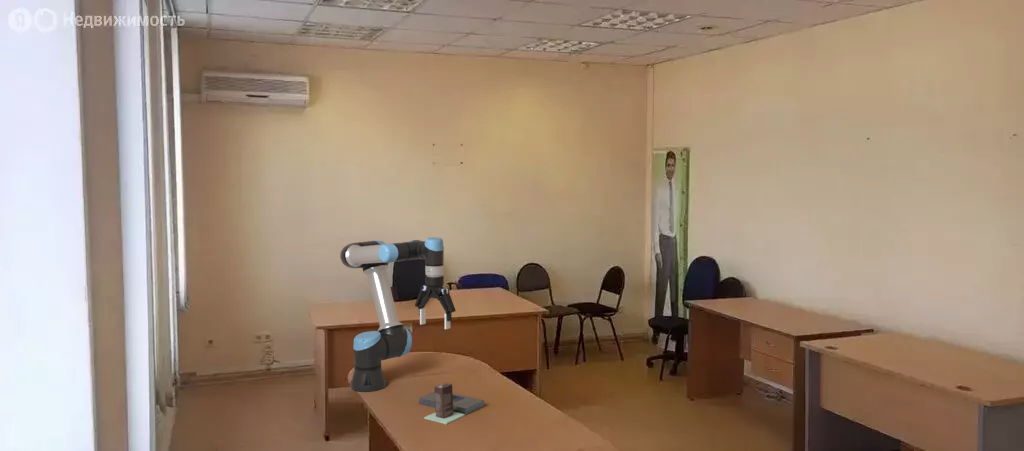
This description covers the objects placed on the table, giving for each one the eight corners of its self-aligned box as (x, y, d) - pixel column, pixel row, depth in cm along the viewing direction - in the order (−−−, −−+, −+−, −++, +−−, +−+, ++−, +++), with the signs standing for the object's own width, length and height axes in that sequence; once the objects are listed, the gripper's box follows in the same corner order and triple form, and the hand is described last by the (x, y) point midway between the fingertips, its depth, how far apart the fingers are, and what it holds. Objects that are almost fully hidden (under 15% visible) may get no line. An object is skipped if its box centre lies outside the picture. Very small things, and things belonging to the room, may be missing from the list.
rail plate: (419, 403, 302) (418, 397, 302) (438, 395, 312) (438, 389, 312) (465, 414, 289) (465, 408, 288) (484, 406, 299) (484, 400, 298)
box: (445, 412, 290) (444, 382, 289) (453, 414, 287) (453, 384, 286) (434, 416, 285) (433, 385, 284) (443, 419, 283) (442, 388, 281)
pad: (424, 418, 285) (424, 417, 285) (443, 410, 294) (442, 409, 294) (446, 424, 279) (446, 422, 279) (464, 415, 288) (464, 414, 288)
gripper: (406, 273, 311) (406, 323, 313) (451, 280, 296) (452, 332, 298) (418, 271, 317) (419, 320, 319) (463, 277, 302) (464, 328, 304)
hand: (435, 326), depth 309 cm, fingers open, 13 cm apart
